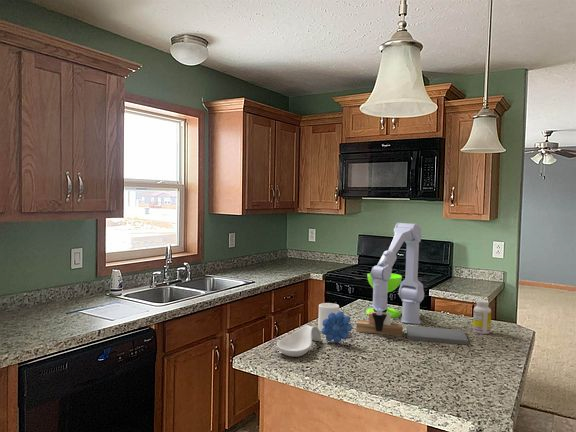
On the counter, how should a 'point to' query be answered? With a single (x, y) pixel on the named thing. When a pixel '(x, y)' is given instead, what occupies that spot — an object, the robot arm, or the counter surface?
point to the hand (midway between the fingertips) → (379, 328)
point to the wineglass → (392, 285)
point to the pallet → (387, 329)
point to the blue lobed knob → (336, 327)
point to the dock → (436, 335)
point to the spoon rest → (299, 341)
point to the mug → (326, 312)
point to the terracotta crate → (371, 318)
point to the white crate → (387, 319)
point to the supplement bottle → (482, 317)
